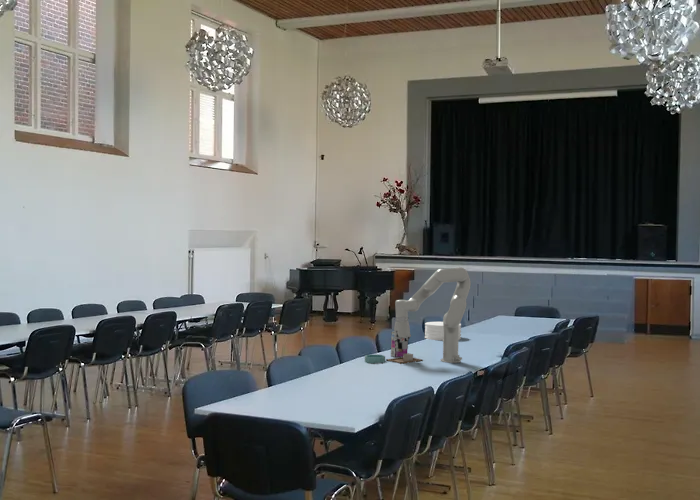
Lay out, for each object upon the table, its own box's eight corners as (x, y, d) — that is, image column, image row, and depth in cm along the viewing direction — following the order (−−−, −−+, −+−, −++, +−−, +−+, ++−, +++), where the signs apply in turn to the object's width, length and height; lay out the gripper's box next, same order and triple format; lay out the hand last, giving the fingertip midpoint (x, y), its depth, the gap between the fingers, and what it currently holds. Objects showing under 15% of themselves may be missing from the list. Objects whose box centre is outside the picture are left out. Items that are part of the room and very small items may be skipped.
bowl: (388, 362, 469) (389, 356, 469) (374, 363, 461) (374, 358, 461) (375, 359, 479) (375, 353, 479) (360, 361, 471) (360, 355, 471)
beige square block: (413, 361, 470) (413, 354, 470) (408, 362, 467) (408, 354, 467) (408, 360, 473) (408, 353, 473) (403, 361, 470) (403, 353, 470)
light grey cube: (407, 348, 475) (407, 341, 475) (402, 349, 472) (402, 342, 472) (403, 347, 478) (402, 340, 478) (398, 348, 475) (397, 341, 475)
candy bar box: (395, 357, 486) (396, 332, 486) (390, 356, 490) (390, 331, 490) (408, 356, 494) (408, 331, 493) (402, 355, 497) (403, 330, 497)
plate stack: (441, 335, 607) (442, 320, 607) (468, 338, 586) (468, 324, 586) (417, 337, 589) (417, 323, 589) (443, 341, 568) (444, 326, 568)
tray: (422, 361, 473) (422, 359, 473) (401, 364, 461) (401, 362, 461) (406, 358, 484) (406, 356, 484) (386, 361, 472) (386, 359, 472)
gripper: (407, 317, 483) (408, 346, 483) (388, 320, 472) (389, 349, 472) (415, 318, 477) (416, 347, 477) (396, 321, 466) (397, 350, 467)
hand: (402, 348), depth 475 cm, fingers closed on light grey cube, 4 cm apart
